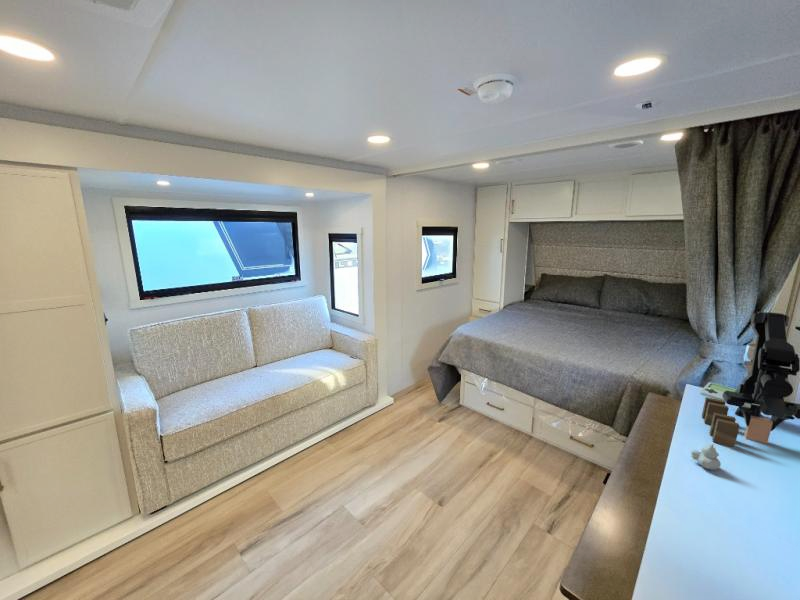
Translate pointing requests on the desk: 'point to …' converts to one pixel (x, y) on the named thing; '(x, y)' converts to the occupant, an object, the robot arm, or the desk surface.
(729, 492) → the desk surface
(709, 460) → the grey lumpy figure
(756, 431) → the domino
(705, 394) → the handheld gaming console
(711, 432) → the domino
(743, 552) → the desk surface
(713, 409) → the domino
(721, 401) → the domino
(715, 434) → the domino
